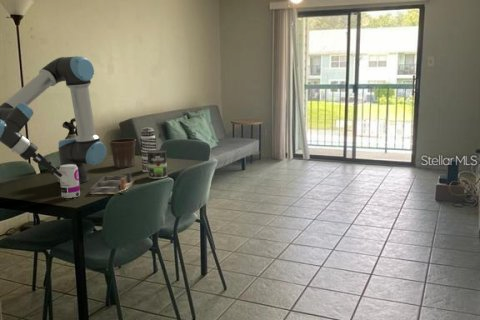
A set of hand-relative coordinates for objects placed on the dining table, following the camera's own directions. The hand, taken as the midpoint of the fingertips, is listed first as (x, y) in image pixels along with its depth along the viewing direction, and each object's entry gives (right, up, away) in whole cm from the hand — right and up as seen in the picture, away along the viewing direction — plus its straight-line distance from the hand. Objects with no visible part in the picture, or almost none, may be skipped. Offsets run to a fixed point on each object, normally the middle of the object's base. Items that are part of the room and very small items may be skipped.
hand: (63, 177), depth 217 cm
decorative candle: (+28, +2, +59) cm, 66 cm away
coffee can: (+36, -1, +43) cm, 56 cm away
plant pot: (+10, +4, +75) cm, 75 cm away
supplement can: (+2, -9, +4) cm, 10 cm away
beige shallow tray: (+18, -6, +20) cm, 27 cm away
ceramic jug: (-21, +4, +77) cm, 80 cm away
